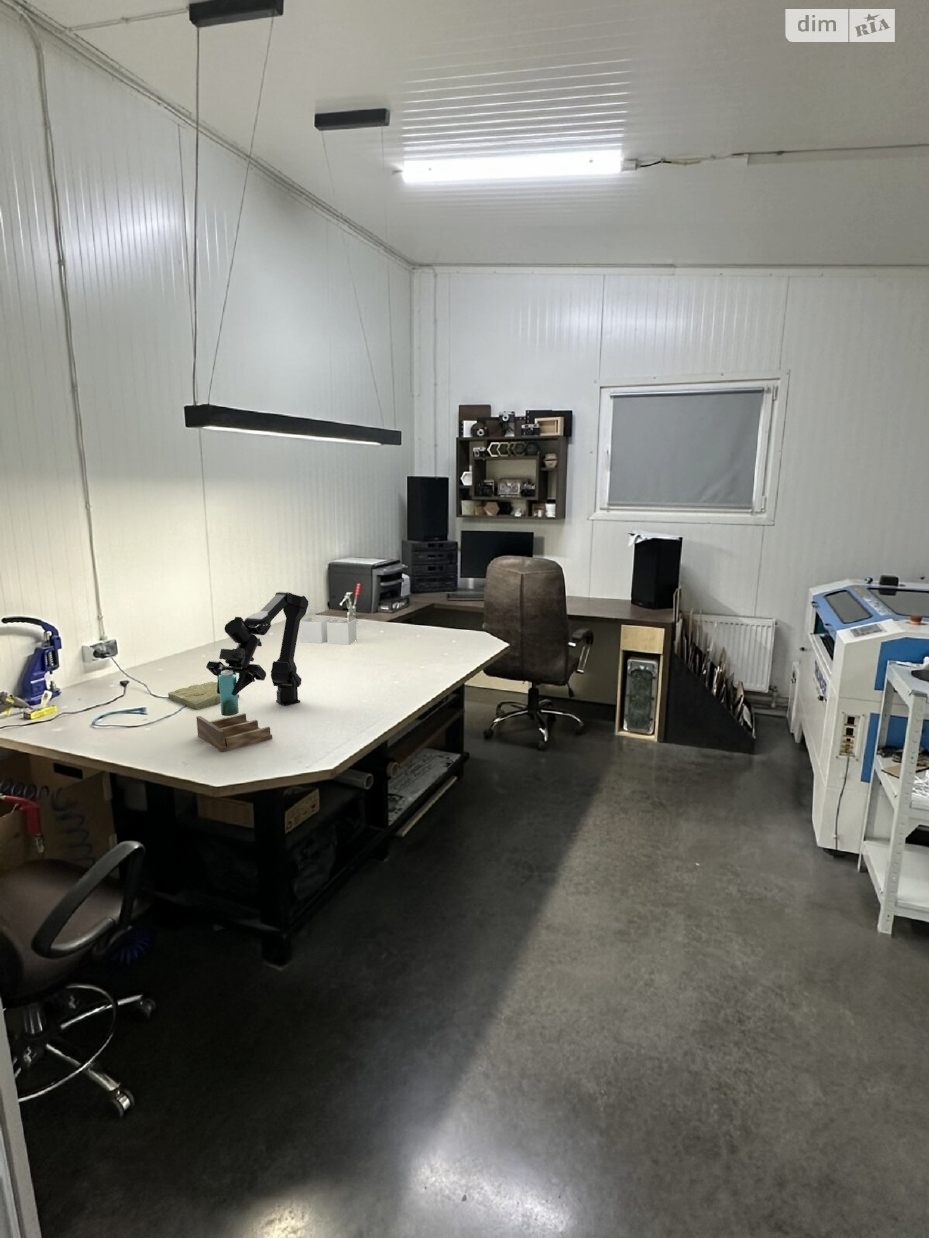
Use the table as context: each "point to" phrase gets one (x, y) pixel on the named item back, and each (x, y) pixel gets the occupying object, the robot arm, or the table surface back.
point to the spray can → (228, 693)
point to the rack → (231, 732)
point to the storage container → (328, 631)
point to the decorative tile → (197, 695)
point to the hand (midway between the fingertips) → (225, 694)
